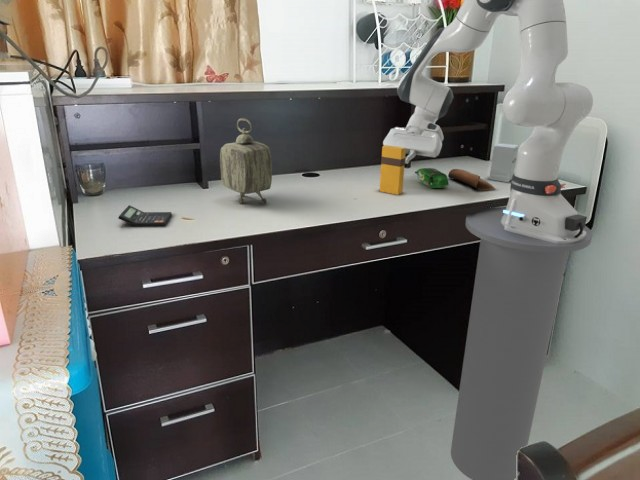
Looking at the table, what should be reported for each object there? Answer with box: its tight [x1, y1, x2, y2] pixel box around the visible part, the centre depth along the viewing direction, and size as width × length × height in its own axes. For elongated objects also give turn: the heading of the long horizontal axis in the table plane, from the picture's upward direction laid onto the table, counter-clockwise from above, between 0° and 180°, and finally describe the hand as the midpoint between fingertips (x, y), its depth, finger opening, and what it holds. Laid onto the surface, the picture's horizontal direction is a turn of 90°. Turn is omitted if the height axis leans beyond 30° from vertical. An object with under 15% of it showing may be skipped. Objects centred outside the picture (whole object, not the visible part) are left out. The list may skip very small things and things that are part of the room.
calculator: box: [117, 204, 173, 227], centre depth 136 cm, size 9×12×3 cm
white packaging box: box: [488, 143, 520, 183], centre depth 185 cm, size 7×7×13 cm
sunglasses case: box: [447, 168, 496, 192], centre depth 179 cm, size 18×7×7 cm, turn 19°
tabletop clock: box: [219, 117, 273, 204], centre depth 150 cm, size 14×9×25 cm, turn 45°
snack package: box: [414, 167, 449, 189], centre depth 177 cm, size 7×16×5 cm, turn 12°
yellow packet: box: [379, 145, 407, 195], centre depth 165 cm, size 3×7×15 cm, turn 53°
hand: (403, 162), depth 170 cm, fingers closed
